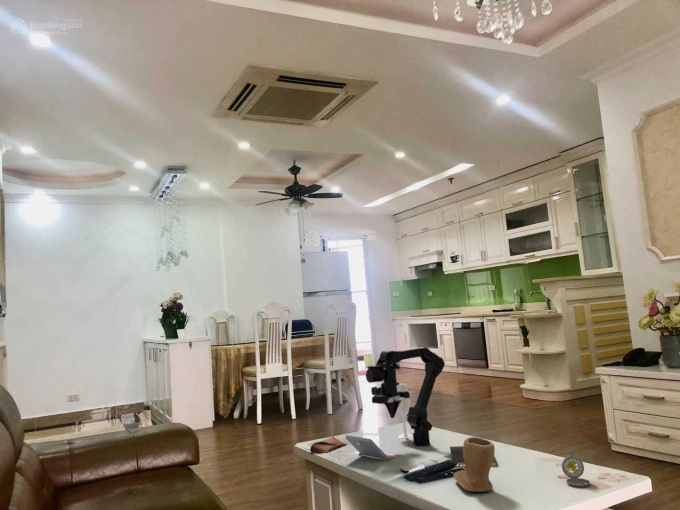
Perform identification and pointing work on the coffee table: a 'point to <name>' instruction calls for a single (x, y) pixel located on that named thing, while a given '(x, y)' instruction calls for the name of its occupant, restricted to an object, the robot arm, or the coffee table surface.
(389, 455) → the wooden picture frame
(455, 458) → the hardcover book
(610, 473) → the coffee table surface
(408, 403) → the champagne flute
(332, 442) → the sunglasses case
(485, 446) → the tan boot
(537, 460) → the coffee table surface
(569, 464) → the pocket watch
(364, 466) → the coffee table surface
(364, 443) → the door
